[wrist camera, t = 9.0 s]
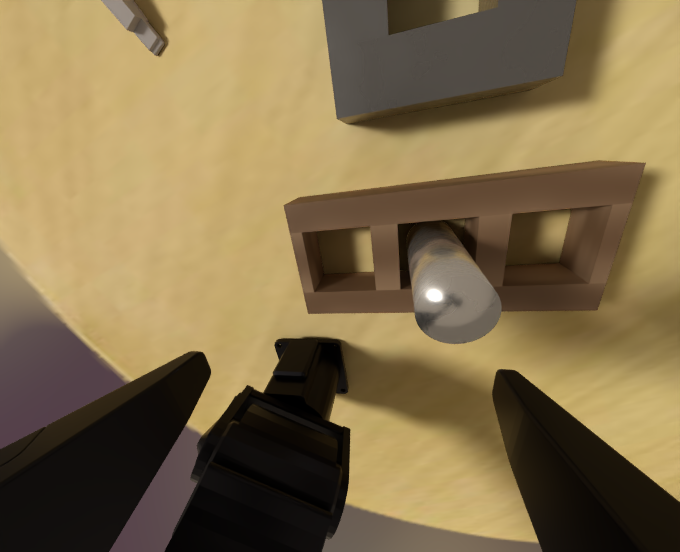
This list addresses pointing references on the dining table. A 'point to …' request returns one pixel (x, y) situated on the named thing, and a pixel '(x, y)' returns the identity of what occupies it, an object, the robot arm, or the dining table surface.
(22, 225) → the dining table surface
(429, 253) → the metal peg
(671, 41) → the dining table surface
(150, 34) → the caliper
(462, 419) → the dining table surface
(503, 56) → the socket block
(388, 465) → the dining table surface
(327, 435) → the robot arm
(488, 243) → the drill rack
